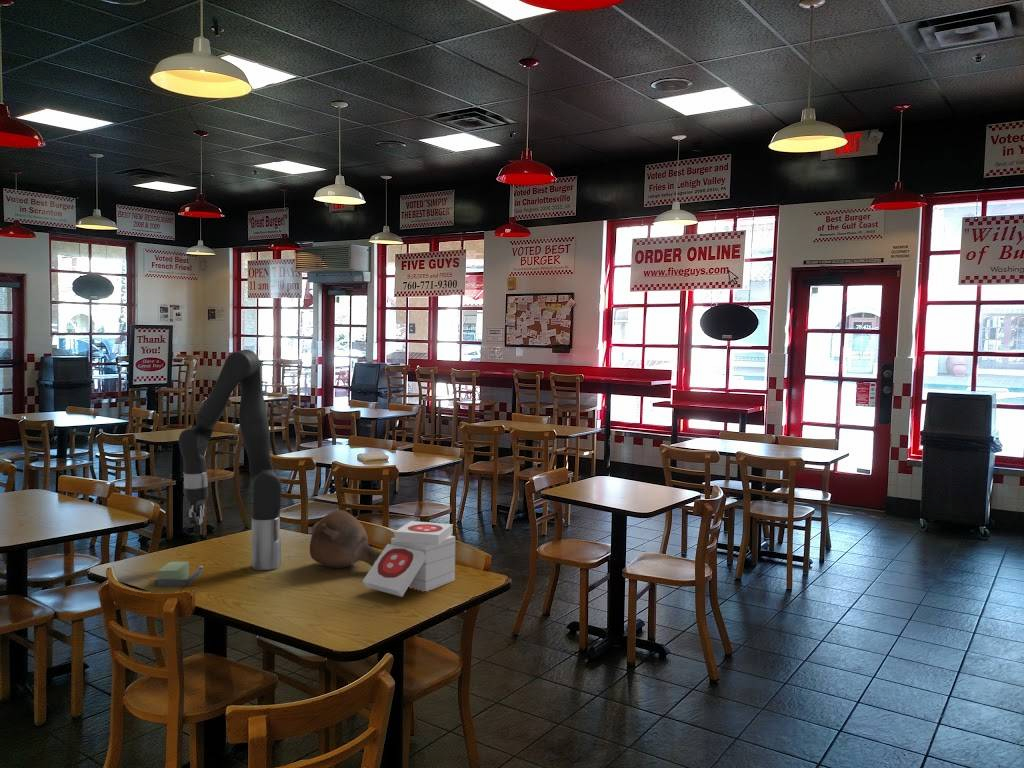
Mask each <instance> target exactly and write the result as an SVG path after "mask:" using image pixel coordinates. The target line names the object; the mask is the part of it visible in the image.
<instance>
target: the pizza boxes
mask: <svg viewBox="0 0 1024 768" xmlns="http://www.w3.org/2000/svg"><path fill="white" fill-rule="evenodd" d="M453 526H454V524H453V523H452V524H451V523H443V522H441V523H439V522H430V521H429V522H428V521H415V520H414V521H413V520H411V521H409V522H407V523H405V524H404V525H402V526H400V527H399V528H398V529H396V530H394V537H391V539H390V541H391V542H390V543H387V544H386V546H385V547H384V548H383V550H382V551H381V552H382V553H381V554H380V556H379V557H378V559H377V560H376V562H375V563H374V565H373V566H371V568H370V569H369V571H368V572H367V574H366V575H365V576H364V578H363V579H362V583H363V585H364V586H365V587H366V588H368V589H372V590H376V591H379V592H383V593H387V594H390V595H394V596H397V597H404V595H405V593H406V591H408V589H412V588H414V589H413V590H416V589H417V590H416V591H420V590H421V591H420V592H424V591H427V592H430V591H432V590H435V589H437V588H439V587H441V586H442V587H443V585H447V584H449V583H452V582H454V581H456V536H455V535H453V530H454V529H453V528H454V527H453ZM408 587H409V588H408ZM429 590H430V591H429Z"/></svg>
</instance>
